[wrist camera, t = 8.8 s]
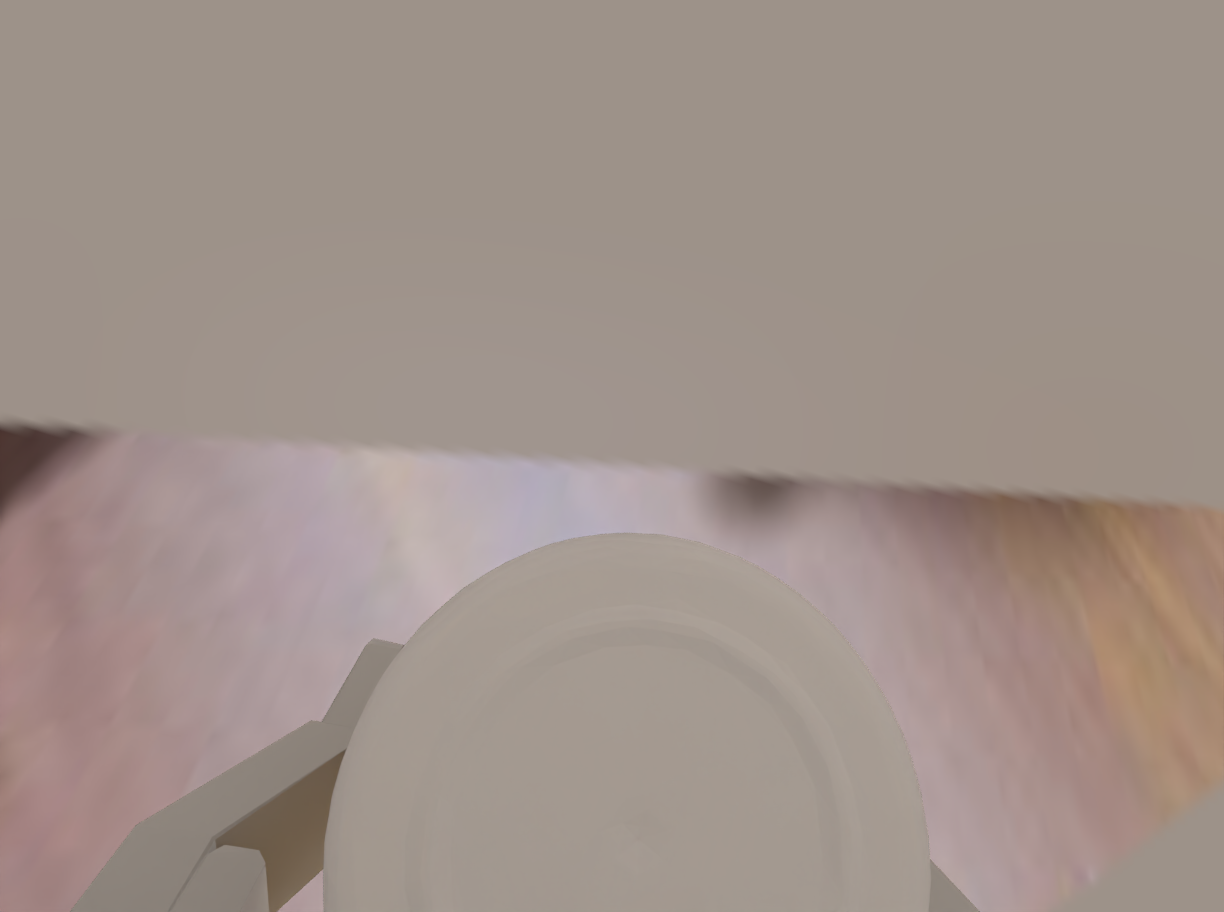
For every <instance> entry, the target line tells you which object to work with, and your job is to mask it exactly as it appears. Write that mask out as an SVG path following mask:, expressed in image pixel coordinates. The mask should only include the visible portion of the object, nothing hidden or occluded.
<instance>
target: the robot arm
mask: <svg viewBox="0 0 1224 912" xmlns="http://www.w3.org/2000/svg"><path fill="white" fill-rule="evenodd" d="M404 646H405V645H402V644H398V643H393V642H388V641H384V640H379V639H374V638H373V639H372V640H371V641H370V642H369V643H368V644H367V645H366V646H365V647H364V649H363V651H362V653H361V654H360V656H359V658H358V660H357V661H356V663H355V665H354V667H353V668H352V670H351V672H350V674H349V675H348V677H347V679H346V680H345V682H344V684H343V686H342V687H341V689H340V691H339V693H338V694H337V696H336V698H335V700H334V701H333V703H332V705H331V706H330V708H329V710H328V712H327V713H326V715H325V717H324V719H323V720H322V722H319V721H312V720H311V721H309V722H308V723H306V724H304V725H303V726H301V727H299V728H298V729H296V730H294V731H293V732H291V733H289V734H288V735H286V736H284V737H283V738H281V739H279V740H278V741H276V742H274V743H273V744H271V745H269V746H268V747H266V748H264V749H263V750H261V751H259V752H258V753H256V754H254V755H253V756H251V757H249V758H247V759H246V760H244V761H242V762H241V763H239V764H237V765H236V766H234V767H232V768H231V769H229V770H227V771H226V772H224V773H222V774H221V775H219V776H217V777H216V778H214V779H212V780H211V781H209V782H207V783H206V784H204V785H202V786H201V787H199V788H197V789H196V790H194V791H192V792H191V793H189V794H187V795H186V796H184V797H182V798H181V799H179V800H177V801H176V802H174V803H172V804H171V805H169V806H167V807H166V808H164V809H162V810H161V811H159V812H157V813H156V814H154V815H152V816H151V817H149V818H147V819H146V820H144V821H142V822H141V823H139V824H137V825H136V826H135V827H134V828H133V830H132V831H131V832H130V834H129V835H128V836H127V838H126V839H125V840H124V841H123V843H122V844H121V845H120V847H119V848H118V849H117V851H116V852H115V853H114V855H113V856H112V857H111V858H110V860H109V861H108V862H107V864H106V865H105V866H104V868H103V869H102V870H101V872H100V873H99V874H98V876H97V877H96V878H95V879H94V881H93V882H92V883H91V885H90V886H89V887H88V889H87V890H86V891H85V893H84V894H83V895H82V897H81V898H80V899H79V900H78V902H77V903H76V904H75V906H74V907H73V908H72V910H71V911H70V912H277V911H278V910H279V909H280V908H281V907H282V906H283V905H284V904H285V903H287V902H288V901H289V900H290V899H291V898H292V897H293V896H294V895H295V894H296V893H297V892H299V891H300V890H301V889H302V888H303V887H304V886H305V885H306V884H307V883H308V882H309V881H310V880H312V879H313V878H314V877H315V876H316V875H317V874H318V873H319V872H320V871H321V870H322V869H323V864H324V841H325V835H326V829H327V823H328V817H329V811H330V805H331V799H332V794H333V790H334V786H335V783H336V779H337V776H338V772H339V769H340V765H341V762H342V760H343V757H344V754H345V752H346V749H347V747H348V744H349V741H350V739H351V736H352V734H353V731H354V729H355V726H356V724H357V722H358V720H359V718H360V716H361V714H362V712H363V710H364V708H365V706H366V704H367V702H368V700H369V698H370V696H371V694H372V692H373V690H374V689H375V687H376V685H377V684H378V682H379V680H380V679H381V677H382V675H383V674H384V672H385V671H386V669H387V668H388V666H389V665H390V664H391V662H392V661H393V659H394V658H395V656H396V655H397V654H398V653H399V651H400V650H401V649H402V648H403V647H404ZM930 868H931V887H930V901H929V912H980V911H979V910H978V909H977V908H976V907H975V906H974V905H973V904H972V903H971V902H970V901H969V900H968V899H967V898H966V896H965V895H964V894H963V893H962V892H961V891H960V890H959V889H958V888H957V887H956V886H955V885H954V884H953V883H952V882H951V881H950V879H949V878H948V877H947V876H946V875H945V874H944V873H943V872H942V871H941V870H940V869H939V868H938V867H937V866H936V865H935V864H934V863H933V861H932V860H931V859H930Z"/></svg>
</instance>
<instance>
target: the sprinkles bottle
mask: <svg viewBox="0 0 1224 912" xmlns="http://www.w3.org/2000/svg"><path fill="white" fill-rule="evenodd" d="M930 887H931V868H930V850H929V836H928V830H927V825H926V819H925V813H924V807H923V801H922V796H921V791H920V787H919V783H918V779H917V776H916V772H915V768H914V765H913V761H912V758H911V755H910V752H909V749H908V746H907V743H906V740H905V737H904V734H903V732H902V730H901V728H900V726H899V724H898V722H897V720H896V718H895V716H894V713H893V711H892V708H891V707H890V705H889V703H888V701H887V699H886V697H885V695H884V694H883V692H882V690H881V689H880V687H879V685H878V684H877V682H876V681H875V679H874V677H873V676H872V674H871V673H870V671H869V669H868V668H867V666H866V665H865V663H864V662H863V661H862V659H861V658H860V657H859V655H858V654H857V653H856V651H855V650H854V648H853V647H852V646H851V644H850V643H849V642H848V641H847V640H846V638H845V637H844V636H843V635H842V634H841V633H840V631H839V630H838V629H837V628H836V627H835V626H834V625H833V624H832V623H831V622H830V621H829V620H828V619H827V618H826V617H825V616H824V615H823V614H822V613H821V612H820V611H819V610H818V609H817V608H815V607H814V606H813V605H812V604H811V603H810V602H808V601H807V600H806V599H805V598H804V597H803V596H802V595H800V594H799V593H798V592H796V591H795V590H794V589H792V588H791V587H789V586H788V585H787V584H785V583H784V582H782V581H781V580H780V579H778V578H777V577H775V576H773V575H772V574H770V573H768V572H767V571H765V570H763V569H762V568H760V567H759V566H757V565H755V564H753V563H750V562H748V561H746V560H744V559H743V558H741V557H738V556H735V555H732V554H730V553H727V552H724V551H722V550H719V549H716V548H714V547H711V546H708V545H706V544H703V543H700V542H696V541H691V540H686V539H681V538H676V537H671V536H666V535H659V534H639V533H613V534H600V535H593V536H586V537H579V538H573V539H569V540H565V541H561V542H557V543H553V544H550V545H547V546H544V547H541V548H538V549H535V550H533V551H531V552H528V553H526V554H524V555H522V556H519V557H517V558H515V559H513V560H510V561H508V562H506V563H504V564H502V565H500V566H499V567H497V568H495V569H493V570H492V571H490V572H488V573H486V574H485V575H483V576H482V577H480V578H479V579H477V580H475V581H474V582H472V583H471V584H469V585H468V586H466V587H464V588H463V589H462V590H461V591H460V592H458V593H457V594H456V595H455V596H453V597H452V598H451V599H450V600H449V601H447V602H446V603H445V604H444V605H443V606H442V607H441V608H440V609H439V610H437V611H436V612H435V613H434V614H433V615H432V616H431V617H430V618H429V619H428V620H427V621H426V622H425V623H423V624H422V626H421V627H420V628H419V629H418V630H417V631H416V633H415V634H414V635H413V636H412V637H411V639H410V640H409V641H408V642H407V643H406V644H405V646H404V647H403V648H402V649H401V650H400V651H399V653H398V654H397V655H396V656H395V658H394V659H393V661H392V662H391V664H390V665H389V666H388V668H387V669H386V671H385V672H384V674H383V675H382V677H381V679H380V680H379V682H378V684H377V685H376V687H375V689H374V690H373V692H372V694H371V696H370V698H369V700H368V702H367V704H366V706H365V708H364V710H363V712H362V714H361V716H360V718H359V720H358V722H357V724H356V726H355V729H354V731H353V734H352V736H351V739H350V741H349V744H348V747H347V749H346V752H345V754H344V757H343V760H342V762H341V765H340V769H339V772H338V776H337V779H336V783H335V786H334V790H333V794H332V799H331V805H330V811H329V817H328V823H327V829H326V835H325V841H324V864H323V907H324V912H929V901H930Z"/></svg>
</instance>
